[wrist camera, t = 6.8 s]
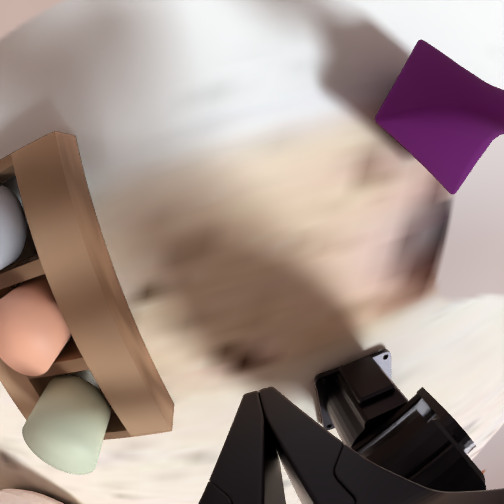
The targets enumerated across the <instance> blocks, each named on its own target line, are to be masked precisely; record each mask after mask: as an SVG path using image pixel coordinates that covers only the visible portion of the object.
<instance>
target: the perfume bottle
mask: <svg viewBox="0 0 504 504" xmlns="http://www.w3.org/2000/svg"><path fill="white" fill-rule="evenodd" d="M375 121H376V123H377V124H378V125H379V126H381V127H382V128H383V129H384V130H385V131H386V132H388V133H389V134H390V135H391V136H392V137H393V138H394V139H395V140H397V141H398V142H399V143H400V144H401V145H402V146H403V147H404V148H405V149H406V150H407V151H408V152H410V153H411V154H412V155H413V156H414V157H415V158H416V159H417V160H418V161H419V162H420V163H421V164H422V165H423V166H424V167H425V168H426V169H427V170H428V171H429V172H430V173H431V174H432V175H433V176H434V177H435V178H436V179H437V180H438V181H439V182H440V183H441V184H442V185H443V187H444V188H445V189H446V190H447V191H448V192H449V193H450V194H455V193H456V192H457V190H458V189H459V187H460V186H461V185H462V183H463V182H464V180H465V179H466V177H467V176H468V174H469V173H470V172H471V170H472V168H473V167H474V165H475V164H476V162H477V161H478V160H479V158H480V157H481V156H482V154H483V153H484V152H485V150H486V149H487V147H488V146H489V145H490V143H491V142H492V140H494V139H495V138H496V137H498V136H499V135H501V134H504V90H502V89H499V88H497V87H494V86H492V85H490V84H488V83H486V82H484V81H483V80H481V79H480V78H478V77H477V76H475V75H474V74H472V73H471V72H469V71H468V70H466V69H464V68H463V67H461V66H460V65H458V64H457V63H456V62H454V61H453V60H452V59H450V58H449V57H447V56H446V55H445V54H443V53H442V52H440V51H439V50H437V49H436V48H434V47H433V46H431V45H430V44H428V43H427V42H425V41H423V40H419V41H418V42H417V44H416V46H415V47H414V49H413V51H412V53H411V55H410V56H409V58H408V60H407V62H406V64H405V66H404V67H403V69H402V71H401V73H400V74H399V76H398V78H397V80H396V82H395V83H394V85H393V87H392V89H391V90H390V92H389V94H388V96H387V97H386V99H385V101H384V103H383V104H382V106H381V108H380V110H379V111H378V113H377V115H376V116H375Z"/></svg>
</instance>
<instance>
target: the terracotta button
mask: <svg viewBox="0 0 504 504" xmlns="http://www.w3.org/2000/svg"><path fill="white" fill-rule="evenodd" d="M71 336H72V335H71V333H70V331H69V329H68V326H67V324H66V322H65V320H64V318H63V316H62V313H61V311H60V309H59V307H58V304H57V302H56V300H55V297H54V295H53V292H52V290H51V288H50V285H49V283H48V280H47V277H46V275H45V274H43V275H40V276H37V277H34V278H31V279H28V280H26V281H25V282H23V283H22V284H20V285H19V286H18V287H16V288H15V289H13V290H12V291H11V292H9V293H8V294H7V295H5V296H4V297H3V298H1V299H0V358H1V359H2V360H3V361H4V362H5V363H6V364H7V365H8V366H9V367H11V368H12V369H13V370H15V371H17V372H19V373H21V374H24V375H27V376H39V375H42V374H44V373H45V372H47V370H48V369H49V368H50V366H51V365H52V363H53V362H54V361H55V359H56V358H57V356H58V355H59V353H60V352H61V350H62V349H63V347H64V346H65V344H66V343H67V342H68V340H69V339H70V337H71Z"/></svg>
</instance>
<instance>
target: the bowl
mask: <svg viewBox="0 0 504 504" xmlns="http://www.w3.org/2000/svg"><path fill="white" fill-rule="evenodd" d="M0 504H64V503H62V502H60V501H57V500H55V499H53V498H50V497H48V496H45V495H43V494H39V493H36V492H32V491H28V490H18V489H2V490H1V491H0Z"/></svg>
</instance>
